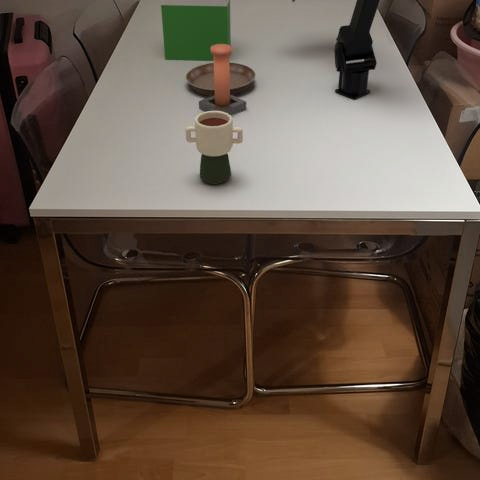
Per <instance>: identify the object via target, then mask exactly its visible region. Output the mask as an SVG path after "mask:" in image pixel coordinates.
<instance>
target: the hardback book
mask: <svg viewBox="0 0 480 480" xmlns="http://www.w3.org/2000/svg"><path fill="white" fill-rule="evenodd" d="M160 8H161V9H160V10H161V23H162V34H163V35H162V36H163V48H164V49H163V50H164V59H165V61H187V62H188V61H194V62H214V57H213V54H211V46H213V45H216V44H227V45H230V46H231V47H232V45H231V44H232V43H231V39H232V38H231V0H160ZM230 56H231V54H229V58H230Z"/></svg>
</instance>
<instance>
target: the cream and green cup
mask: <svg viewBox="0 0 480 480" xmlns="http://www.w3.org/2000/svg"><path fill="white" fill-rule="evenodd" d="M191 132H195V137H192V134H191ZM243 132H244V131H243V128H241V127H238V126H237V127H235V126H234V127H233V118H232V115H231V116H230V115H229V114H228V113H225V112H222V111H207V112H205V111H203V112H201V113H199V114H197V115H196V116H195V118H194V126H191V125H190V126H185V141H186V142H187V143H195V146H196V149H197V151H198V152H199V153H200V154H201V155H200V164H199V177H200V179H201V180H202V181H203V182H206V183H208V184H211V185H212V184H216V185H218V184H219V185H220V184H221V183H222V184H223V183H225V182H226V181H227V180H229V179H230V178H231V176H232V171H231V170H232V169H231V164H230V159H229V158H230V157H229V154H228V153H230V152H231V150H232V147H233V145H234V144H237V145H238V144H243V141H244V139H243V138H244V136H243V135H244V134H243ZM233 133H237V138H233Z"/></svg>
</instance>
